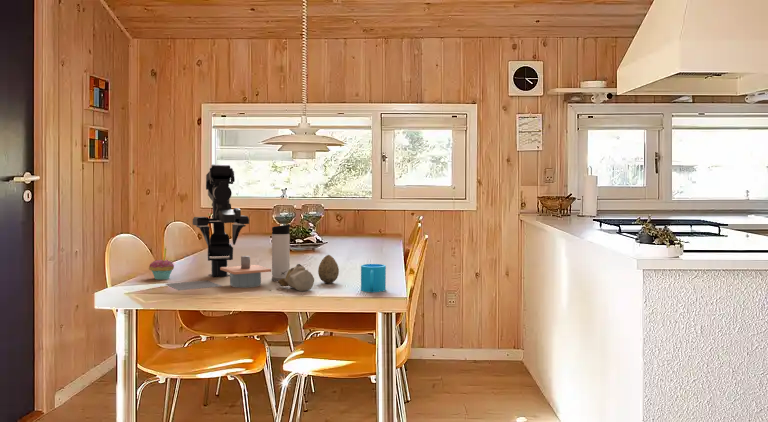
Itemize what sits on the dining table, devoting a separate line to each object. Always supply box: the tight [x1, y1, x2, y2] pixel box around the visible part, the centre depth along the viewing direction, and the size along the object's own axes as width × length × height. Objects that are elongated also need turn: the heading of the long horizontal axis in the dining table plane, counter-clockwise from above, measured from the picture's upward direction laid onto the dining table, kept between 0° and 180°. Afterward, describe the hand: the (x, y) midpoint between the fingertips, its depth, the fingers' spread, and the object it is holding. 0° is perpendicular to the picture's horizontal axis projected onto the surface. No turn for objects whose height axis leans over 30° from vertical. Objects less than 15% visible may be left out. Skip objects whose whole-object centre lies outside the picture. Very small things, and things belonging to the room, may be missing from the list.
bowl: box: [229, 272, 262, 289], centre depth 240 cm, size 10×10×5 cm
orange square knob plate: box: [220, 255, 272, 275], centre depth 239 cm, size 13×13×5 cm
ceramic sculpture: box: [276, 263, 315, 292], centre depth 235 cm, size 11×9×15 cm
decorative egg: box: [317, 254, 340, 284], centre depth 247 cm, size 7×7×10 cm
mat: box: [165, 279, 222, 291], centre depth 239 cm, size 15×15×1 cm
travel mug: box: [271, 224, 291, 282], centre depth 253 cm, size 6×7×20 cm
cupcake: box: [148, 247, 175, 280], centre depth 253 cm, size 9×8×12 cm
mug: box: [360, 263, 387, 293], centre depth 232 cm, size 12×8×8 cm
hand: (221, 245), depth 247 cm, fingers open, 9 cm apart
